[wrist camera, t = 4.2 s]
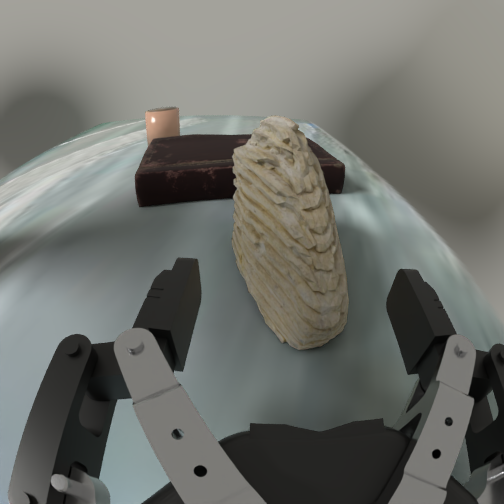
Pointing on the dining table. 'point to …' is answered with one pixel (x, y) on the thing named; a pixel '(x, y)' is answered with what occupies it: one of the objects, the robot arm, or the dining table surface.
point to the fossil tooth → (288, 236)
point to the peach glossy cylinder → (162, 123)
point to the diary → (206, 169)
